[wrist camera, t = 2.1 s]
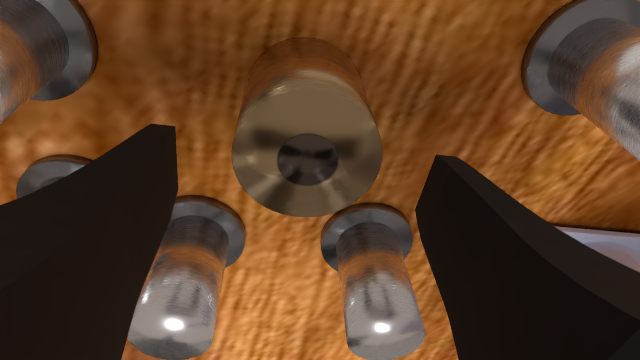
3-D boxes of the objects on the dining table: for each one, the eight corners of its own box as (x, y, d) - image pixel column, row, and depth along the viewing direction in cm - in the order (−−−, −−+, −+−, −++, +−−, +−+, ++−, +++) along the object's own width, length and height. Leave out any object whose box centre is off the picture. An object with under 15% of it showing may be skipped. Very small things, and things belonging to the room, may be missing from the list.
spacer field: (786, -185, 12) (1093, -225, 7) (498, 284, 23) (548, 382, 19) (-204, -444, 8) (-772, -814, 4) (32, 253, 20) (-44, 362, 15)
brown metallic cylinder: (373, 46, 15) (400, 101, 11) (348, 150, 17) (364, 223, 14) (249, 28, 14) (234, 80, 11) (242, 138, 17) (228, 212, 13)
